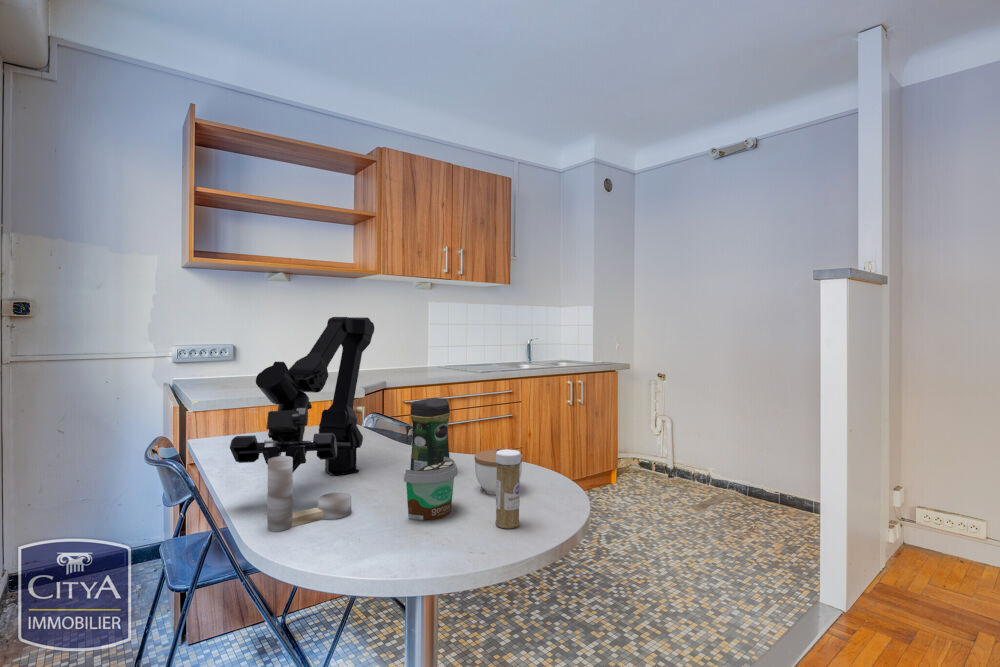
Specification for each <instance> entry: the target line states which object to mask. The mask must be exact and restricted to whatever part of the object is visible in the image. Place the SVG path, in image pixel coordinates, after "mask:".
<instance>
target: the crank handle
mask: <svg viewBox="0 0 1000 667" xmlns="http://www.w3.org/2000/svg"><path fill="white" fill-rule="evenodd" d="M293 474H294V472H293V458H292V457H290V456H285V455H281V456H278V457H273V458H270V459H268V465H267V527H266V529H267V530H268V531H269V532H273V533H278V532H284V531H287V530H289V529H291V528H293V527H297V526H301V525H304V524H309V523H312V522H315V521H320V520H339V519H344V518H347V517H348V516H350V515H351V514H352V495H351V494H350V493H347V492H331V493H330V492H329V493H325V494H322V495H320V496H319V497H318V498H317V507H314V508H308V509H305V510H300V511H296V512H293V493H294V492H293V490H294V489H293Z"/></svg>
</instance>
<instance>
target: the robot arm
mask: <svg viewBox="0 0 1000 667" xmlns="http://www.w3.org/2000/svg"><path fill="white" fill-rule="evenodd" d="M326 324H327V325H326V327H324V330H323V331H322V333H321V335H320V336H319V337H318V339H317V340H316V342H315V343H314V344H313V346H312V347H311V349H310V351H309V352H308V353H307V354H306V355H305V356H303V357H301V358H299V359H298V360H296V361H295V362H294V363H293V364H292V365H291V366H290V368H288V366H287V364H286V363H285V361H273V364H272V365H269V366H268V367H266V368H264V369H262V370H261V372H259V373H257V375H256V377H255V385H256V386H257V388H259V390H260V391H261V392H262V393H263V394H264V395H265V397H266V398H267V399H268V400H269V402H270V403H271V404H274V405H278V406H277V409H276V410H271V411H268V412H267V418H266V419H267V422H266V430H268V433H267V436H268V438H269V439H265V440H263V441H264V442H258V439H257V437H256V435H236V436H234V437H233V438H232V439H231V441H230V444H229V450H230V452H231V455H232V456H233V459H234V460H235V462H237V463H239V464H241V463H242V464H243V463H255V462H256V461H258V460H259V459H260V454H262V456H263V458H264V461H265V464H266V465H267V466H268V459H270V458H273V457H278V456H282V453H285V454H284V456H290V457H292V458H293V473H294V472H296V470H297V469H298V468H299V467H300V465H302V464H304V465H305V464H306V463H307V459H306V454H307V453H308V452H316V457H317V459H319V460H324V470H325V471H326V472H327V473H328V474H330V475H331V476H334V477H335V476H340V475H346V474H348V475H349V474H352V473H358V472H359V471H360V469H359V468H358V467H357V449H359V448H361V447H362V445H363V440H364V436H363V434H362V432H361V431H360V429H359V427H358V418H357V415H356V413H355V410H354V408H353V407H354V403H355V395H356V391H357V390H356V389H357V385H358V378H359V373H360V372H359V371H360V368H361V367H360V366H361V362H362V355H363V353H364V351H365V350H366V349H367V348H368V347H369V346H370V345H371V343H372V342H371V341H372V338H373V335H374V333H375V324H374V322H373V321H371V319H370V318H369V317H359V316H357V317H356V316H355V317H353V316H352V317H350V316H349V317H348V316H332V317H329V318H328V320H327V323H326ZM340 347H342V352H341V356H340V362H339V366H338V371H337V378H336V384H335V388H334V393H333V399H332V404H331V405H330V406H329V407H328V409H323V410H322V412H321V417H320V423H319V424H318V432H317V433H314V434H313V438H312V440H304V436H305V434H304V433H305V430H306V428H305V427H307V426H308V424H309V423H308V422H309V410H310V409H311V410H312V409H313V406H312V403H311V402H310V398H309V396H308V395H307V393H321V391H322V390H323V389H324V387H325V386H326V383H327V380H328V377H329V372H328V370H329V369H328V368H329V365H330V363H331V362H332V359H333V358H334V356H335V355H336V353H337V351H338V350H339V348H340Z"/></svg>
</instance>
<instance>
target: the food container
mask: <svg viewBox="0 0 1000 667" xmlns="http://www.w3.org/2000/svg"><path fill="white" fill-rule="evenodd" d="M458 473H459V472H458V467H457V464H456V461H455V460H454V459H453V458H448V457H444V461H443V462H440V463H438V464H434V465H427V466H425V467H423V468H421V469H419V470H417V471H412V470H410V469H405V473H404V476H403V482H405V483H406V486H405V487H406V499H407V511H408V512H407V513H408V517H407V518H408V519H409V520H413V521H421V522H422V521H423V522H424V521H435V520H439V519H440V520H441V519H443V518H446V517H448V516H449V515H450V514H451V512H452V504H453V493H454V483H455V477H457V476H458Z"/></svg>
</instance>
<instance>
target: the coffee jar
mask: <svg viewBox="0 0 1000 667" xmlns="http://www.w3.org/2000/svg"><path fill="white" fill-rule="evenodd" d="M409 415H410V416H409V417H410V419H411V423H412V424H411V425H412V442H411V443H412V444H411V454H410V455H411V456H410V469H409V470H412V471H417V470H419V469H421V468H423V467H425V466H427V465H434V464H438V463H440V462H443V461H444V457H448V458H450V445H449V420H450V415H451V411H450V403H449V401H448V400H447V399H446V398H441V397H430V398H425V399H421V400H415V401H413V402H412V403H411V404H410V414H409Z"/></svg>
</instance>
